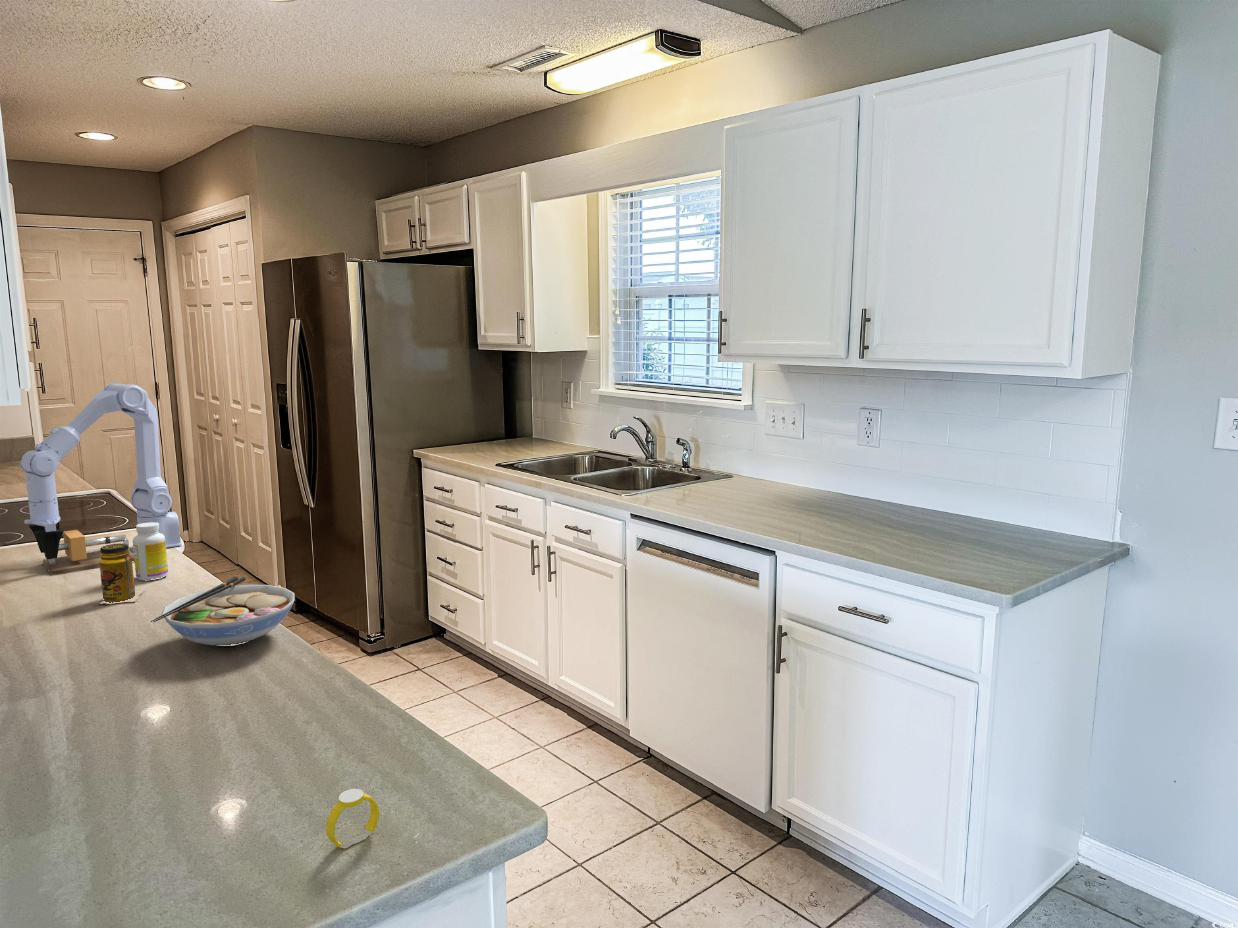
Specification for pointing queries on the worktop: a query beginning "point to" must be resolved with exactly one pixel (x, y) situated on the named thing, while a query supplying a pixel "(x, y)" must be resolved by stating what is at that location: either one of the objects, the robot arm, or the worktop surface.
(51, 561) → the metal rod
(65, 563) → the walnut board
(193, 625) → the ramen bowl
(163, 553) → the supplement bottle
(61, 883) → the worktop surface
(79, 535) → the collar
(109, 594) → the condiment
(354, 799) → the watch
